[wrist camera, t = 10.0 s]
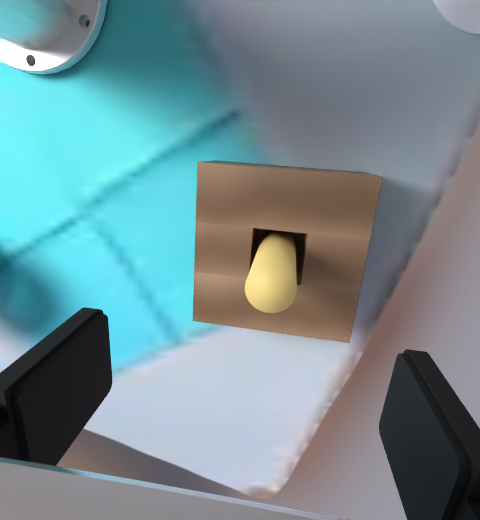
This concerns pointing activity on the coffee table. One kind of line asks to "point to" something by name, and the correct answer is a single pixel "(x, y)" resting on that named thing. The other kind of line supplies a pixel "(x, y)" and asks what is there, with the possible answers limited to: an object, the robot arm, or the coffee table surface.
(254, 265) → the pin
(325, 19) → the coffee table surface
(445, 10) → the cylinder with rectangular tab
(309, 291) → the bore block
